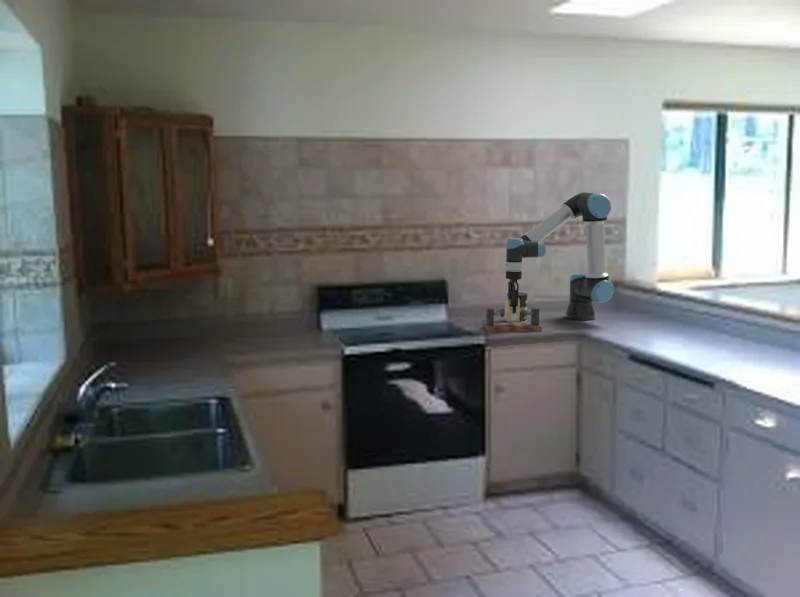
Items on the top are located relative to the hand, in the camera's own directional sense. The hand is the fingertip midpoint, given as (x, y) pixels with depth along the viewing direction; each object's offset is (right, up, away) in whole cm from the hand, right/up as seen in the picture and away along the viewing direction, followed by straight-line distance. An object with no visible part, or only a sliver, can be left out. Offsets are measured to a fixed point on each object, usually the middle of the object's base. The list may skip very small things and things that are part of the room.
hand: (512, 318), depth 384 cm
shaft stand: (0, -5, +1) cm, 5 cm away
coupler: (0, -1, 0) cm, 1 cm away
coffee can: (+5, -2, +20) cm, 21 cm away
